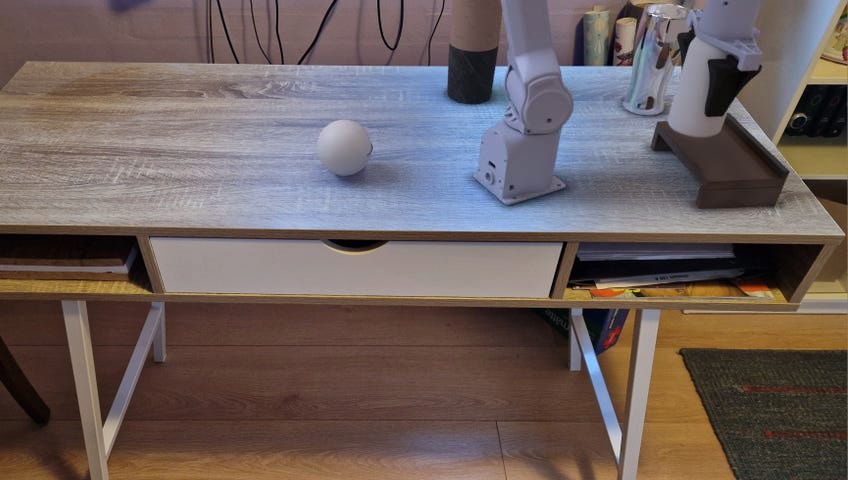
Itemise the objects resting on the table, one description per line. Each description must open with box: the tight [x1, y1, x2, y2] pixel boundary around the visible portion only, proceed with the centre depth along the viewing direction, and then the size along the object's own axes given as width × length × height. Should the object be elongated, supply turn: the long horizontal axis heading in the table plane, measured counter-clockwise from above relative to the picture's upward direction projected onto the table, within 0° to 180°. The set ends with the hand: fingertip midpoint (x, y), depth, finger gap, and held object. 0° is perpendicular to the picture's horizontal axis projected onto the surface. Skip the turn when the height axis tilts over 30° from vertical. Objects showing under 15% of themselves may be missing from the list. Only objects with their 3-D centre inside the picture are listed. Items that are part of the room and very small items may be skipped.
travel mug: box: [446, 0, 503, 105], centre depth 108 cm, size 8×8×20 cm
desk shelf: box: [650, 111, 791, 210], centre depth 93 cm, size 10×16×5 cm, turn 4°
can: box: [667, 36, 730, 138], centre depth 86 cm, size 6×6×12 cm
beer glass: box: [622, 2, 691, 116], centre depth 106 cm, size 7×7×15 cm
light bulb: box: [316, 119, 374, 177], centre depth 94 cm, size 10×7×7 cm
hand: (701, 103), depth 88 cm, fingers closed on can, 6 cm apart
